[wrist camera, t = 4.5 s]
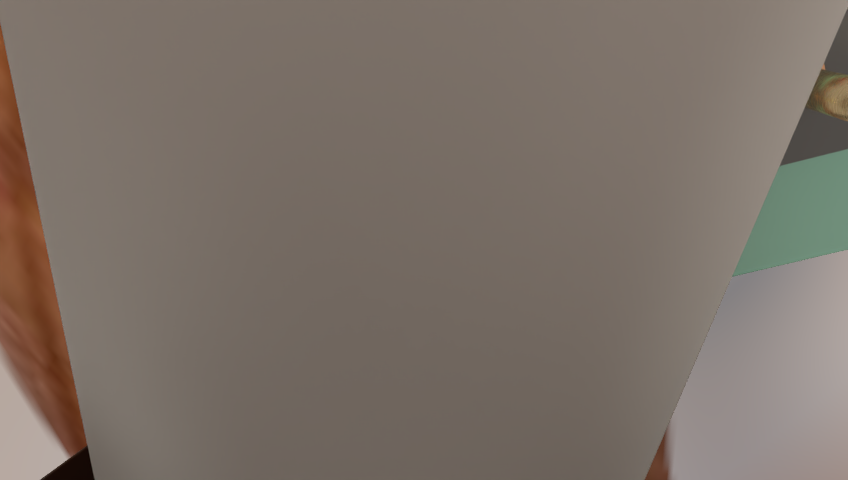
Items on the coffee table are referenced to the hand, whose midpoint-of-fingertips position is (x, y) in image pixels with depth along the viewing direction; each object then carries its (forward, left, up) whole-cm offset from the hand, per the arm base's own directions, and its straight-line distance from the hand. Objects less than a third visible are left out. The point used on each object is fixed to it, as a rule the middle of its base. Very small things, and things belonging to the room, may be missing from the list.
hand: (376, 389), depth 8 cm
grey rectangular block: (0, 0, -1) cm, 1 cm away
